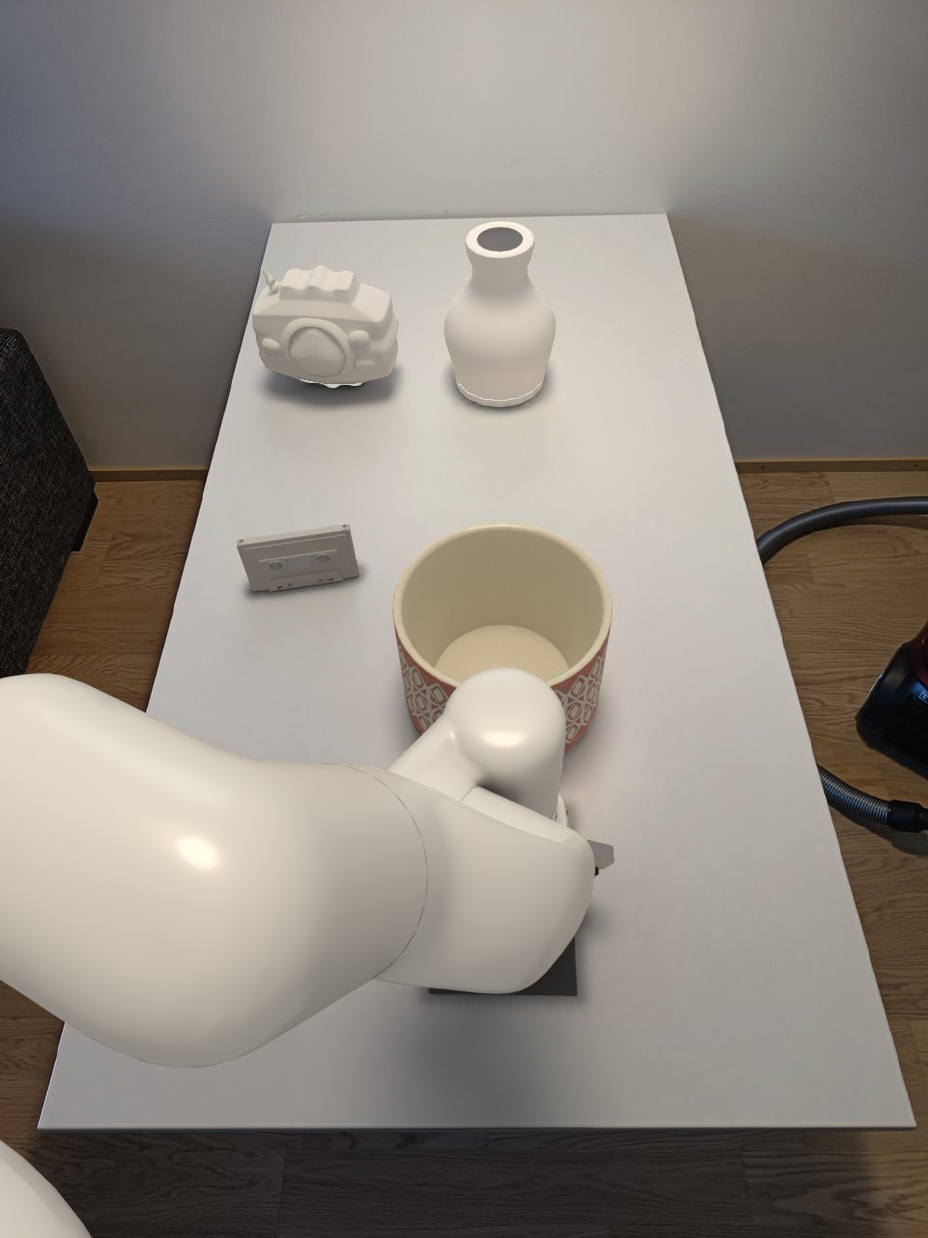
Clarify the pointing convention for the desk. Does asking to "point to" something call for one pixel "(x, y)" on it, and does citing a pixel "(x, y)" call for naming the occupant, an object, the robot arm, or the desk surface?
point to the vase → (499, 319)
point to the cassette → (299, 558)
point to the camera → (325, 327)
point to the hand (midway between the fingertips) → (502, 890)
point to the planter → (502, 618)
